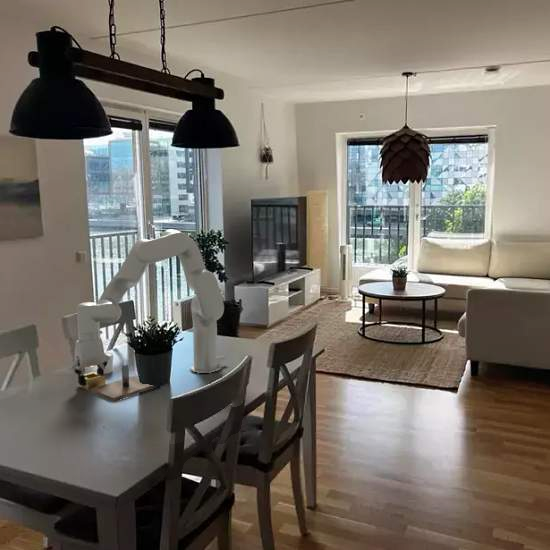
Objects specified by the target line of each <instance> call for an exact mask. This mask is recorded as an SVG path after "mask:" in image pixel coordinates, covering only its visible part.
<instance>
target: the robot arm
mask: <svg viewBox="0 0 550 550" xmlns="http://www.w3.org/2000/svg"><path fill="white" fill-rule="evenodd" d="M176 256H177V257H178V259H179V261H180V263H181V267H182V270H183V273H184V274H183V275H184V278H185V282H186V285H187V287H188V288H189V289H190V290H191V291H193V292H195V295H194V296H193V297H192V299H191V303H190V310H191V317H192V334H193V335H192V336H193V340H192V342H193V343H192V344H193V364H191V365H190V366H189V370H190V371H191V372H192V371H193V372H192V373H194V372H197V373H196V374H199V373H209V374H213V373H212V372H215V371H218V370H220V369H221V370H222V365H221V364H220V363H221V362H224V361H225V360H226V356H225V355H221V356H218V327H217V326H218V325H217V321H218V320H219V319H221V318H222V316H223V314H224V311H225V305H224V300H223V297H222V293H221V289H220V285H219V283H218V279H217V277H216V275H214V273H212V272H211V271H209V270H208V269H207V268H206V265H205V262H204V259H203V256H202V252H201V250H200V248H199V246H198V245H197V243H196V241H194V239H193V238H192V237H190V236H189V235H187V234H186V233H185V232H183V231H180V230H176V229H170V228H169V229H166V230H164V231H163V232H161V235H160V237H157V238H156V237H155V238H153V239H147V238H141V239H140V238H139V239H138V240H136V241H135V243H133V245H132V247H131V249H130V250H129V252H128V254H127V256H126V258H125V259H124V261H123V263H122V265H120V268H119V269H118V272H117V273H116V274H115V275H114V277H113V278H111V280H110V281H109V283H108V284H107V286H106V287H105V289H104V290H103V292H102V294H101V295H100V297H99V299H98V301H97V303H96V302H92V301H88V302H87V301H86V302H82V303H81V302H80V303H79V304H77V307H76V316H77V335H78V339H77V340H76V342H75V348H74V360H73V362H72V364H71V365H70V366H69V368H70V369H71V371H73V372H74V373H75V374H76V375H77V383H78V382H79V384H80V385H82V386H85V375H84V374H85V372H86V369H87V368H91V367H95V366H96V367H97V366H98V369H97V368H96V372H97V373H99V374H102V375H105V374H104V369H105V366H106V365H107V362H108V361H109V359H110V357H109V356H107V355H106V354H104V353H105V349H104V343H103V340H102V337H101V335H102V334H103V330H101V329H100V323H115V322H117V321H119V319H120V318H121V316H122V308H121V306H120V303H121V300H122V299H123V297H124V296H125V295H126V293H127V292H128V291H129V290H130V289H131V288H133V287H135V286H137V285H138V284H139V283H140V282H141V279H142V278H143V276H144V274H145V272H146V270H147V268H148V267H149V265H150V264H155V263H158V262H159V263H160V262H162V261H165V260H168V259H171V258H174V257H176ZM221 370H220V371H221ZM218 372H219V371H218ZM215 373H216V372H215Z"/></svg>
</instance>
